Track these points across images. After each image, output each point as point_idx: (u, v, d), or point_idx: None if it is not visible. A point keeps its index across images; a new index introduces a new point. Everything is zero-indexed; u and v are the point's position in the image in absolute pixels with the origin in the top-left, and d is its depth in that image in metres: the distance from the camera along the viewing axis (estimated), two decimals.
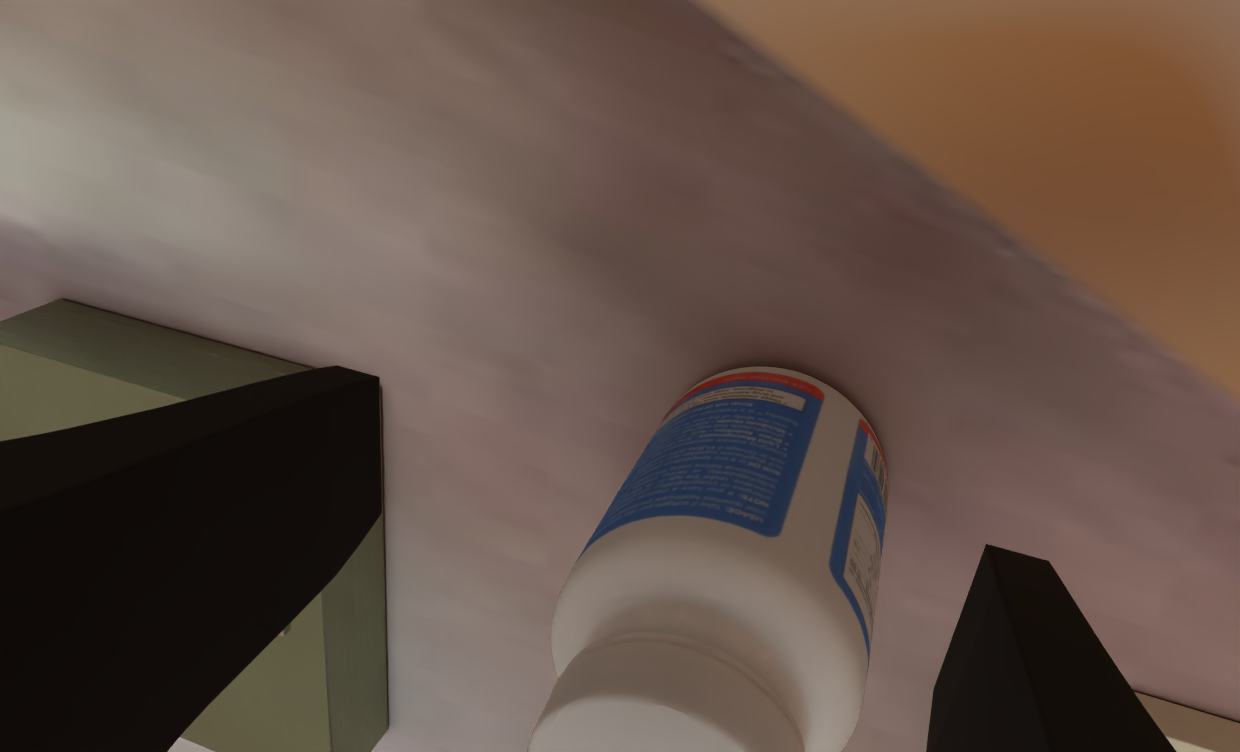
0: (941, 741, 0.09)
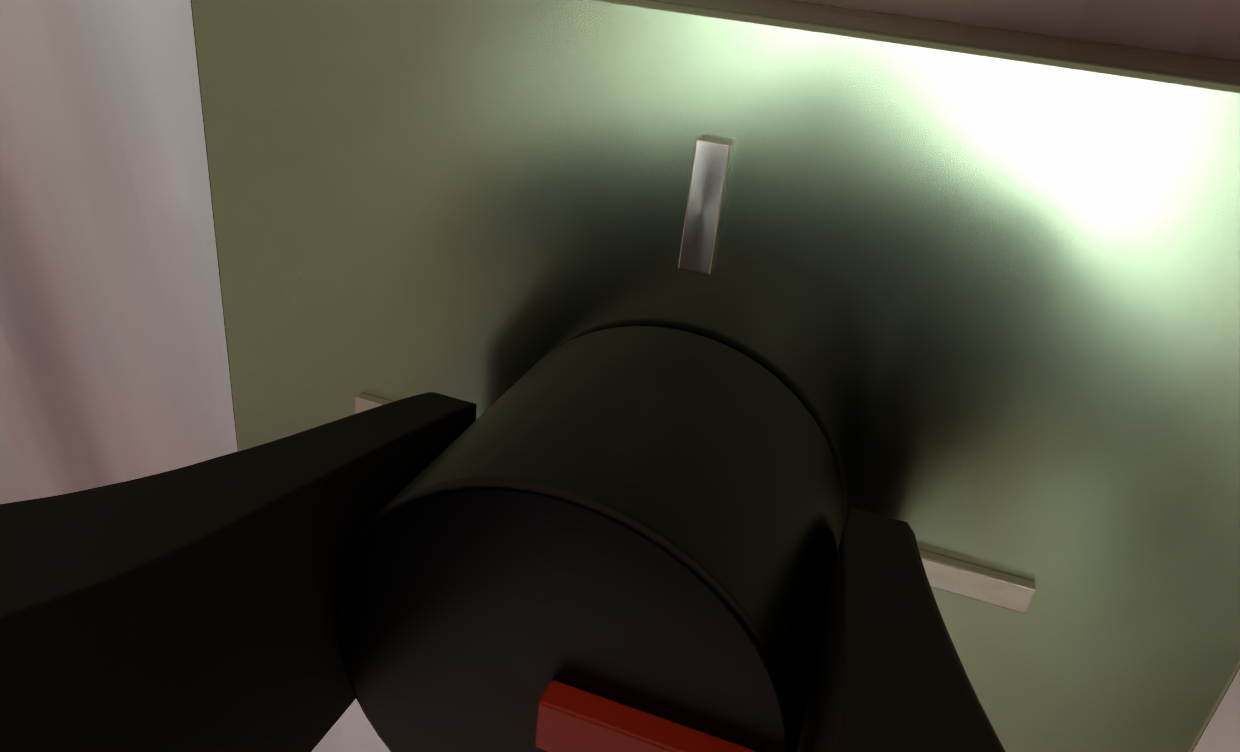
0: None
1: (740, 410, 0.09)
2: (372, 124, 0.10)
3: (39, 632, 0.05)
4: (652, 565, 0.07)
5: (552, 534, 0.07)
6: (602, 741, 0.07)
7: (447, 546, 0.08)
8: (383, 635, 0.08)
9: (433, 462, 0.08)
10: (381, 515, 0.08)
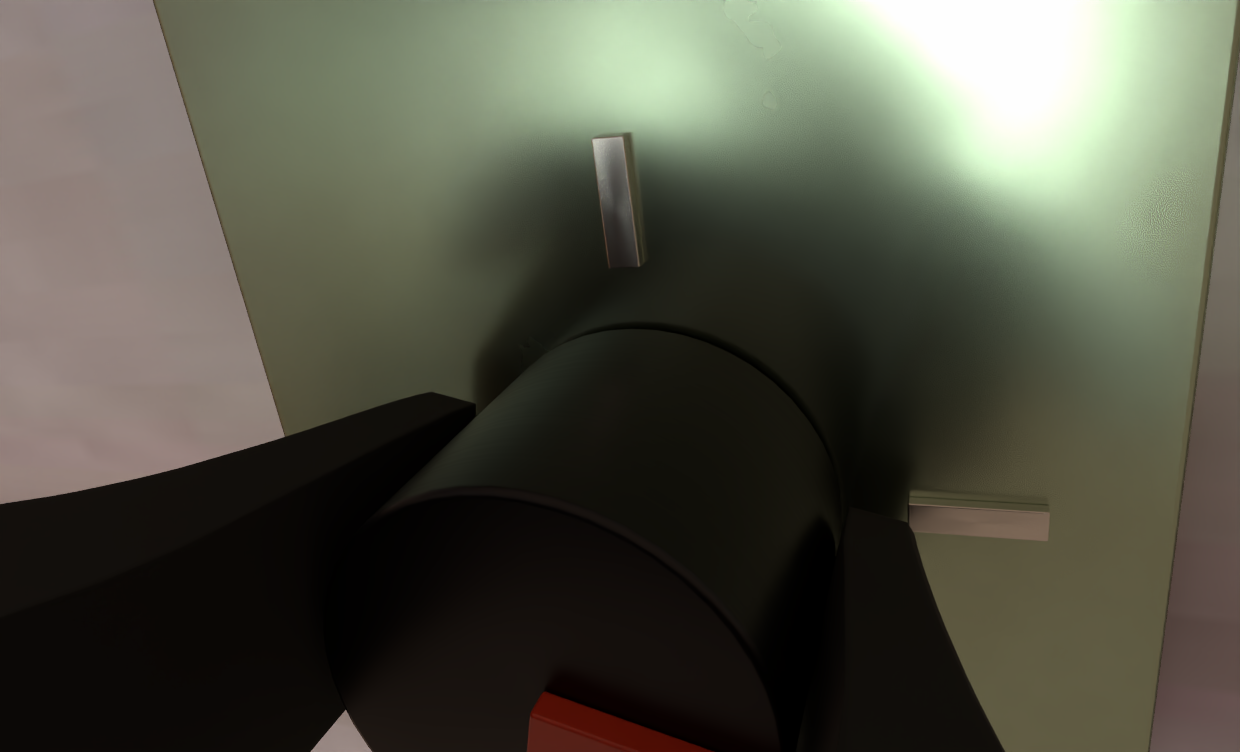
0: None
1: (735, 417, 0.09)
2: (1006, 131, 0.08)
3: (38, 632, 0.05)
4: (645, 578, 0.07)
5: (544, 544, 0.07)
6: None
7: (437, 555, 0.07)
8: (372, 645, 0.08)
9: (423, 468, 0.08)
10: (369, 523, 0.08)
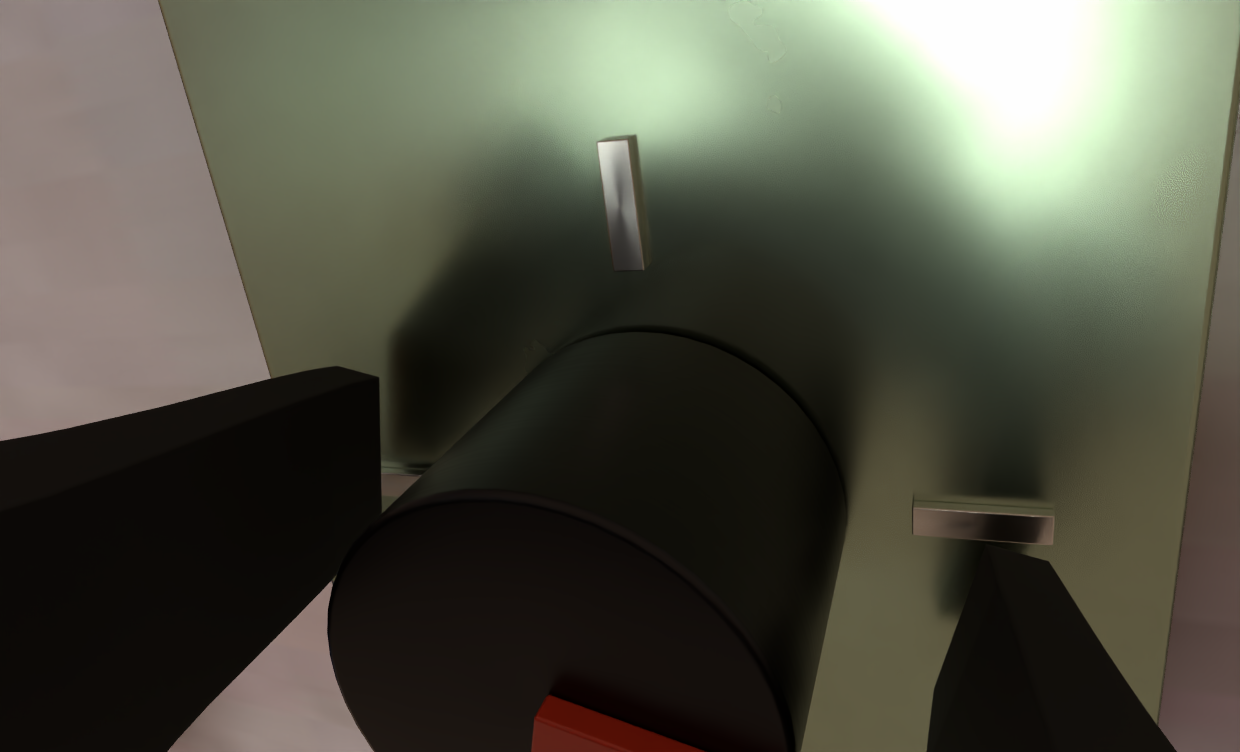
0: (941, 742, 0.09)
1: (741, 420, 0.09)
2: (1011, 134, 0.08)
3: None
4: (650, 581, 0.07)
5: (550, 546, 0.07)
6: None
7: (442, 559, 0.07)
8: (376, 647, 0.08)
9: (429, 471, 0.08)
10: (375, 525, 0.08)
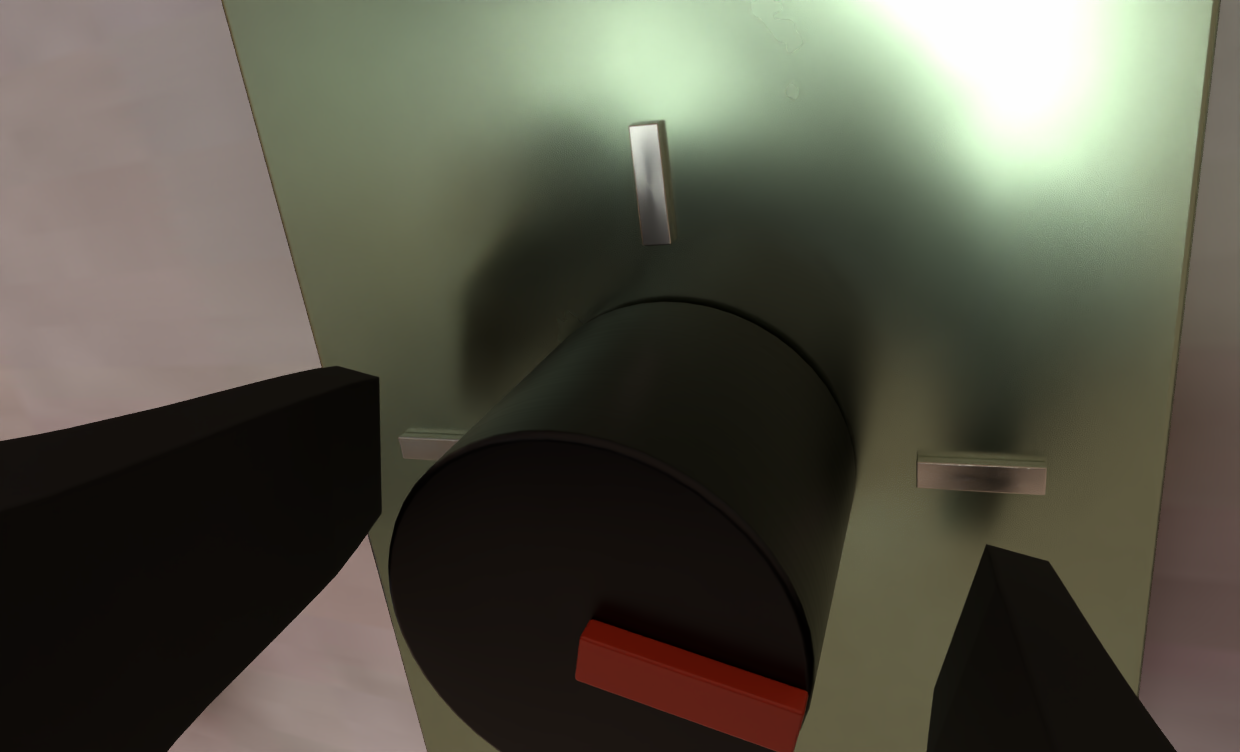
0: (941, 741, 0.09)
1: (761, 377, 0.10)
2: (1007, 118, 0.09)
3: None
4: (686, 510, 0.08)
5: (596, 480, 0.08)
6: (638, 672, 0.08)
7: (496, 495, 0.08)
8: (433, 580, 0.09)
9: (480, 421, 0.09)
10: (436, 466, 0.08)
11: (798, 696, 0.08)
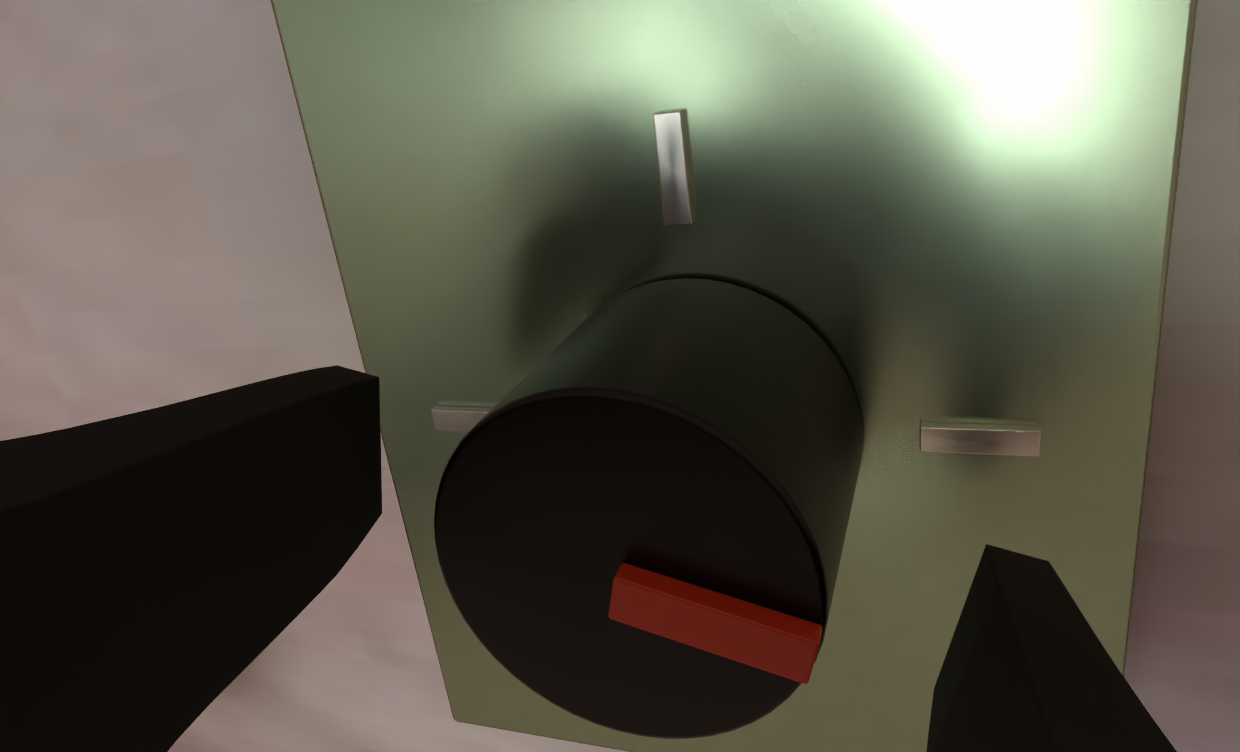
0: (941, 741, 0.09)
1: (777, 345, 0.10)
2: (1003, 105, 0.10)
3: None
4: (713, 459, 0.08)
5: (630, 433, 0.09)
6: (667, 609, 0.09)
7: (538, 448, 0.09)
8: (476, 529, 0.10)
9: (519, 384, 0.10)
10: (482, 423, 0.09)
11: (813, 629, 0.09)
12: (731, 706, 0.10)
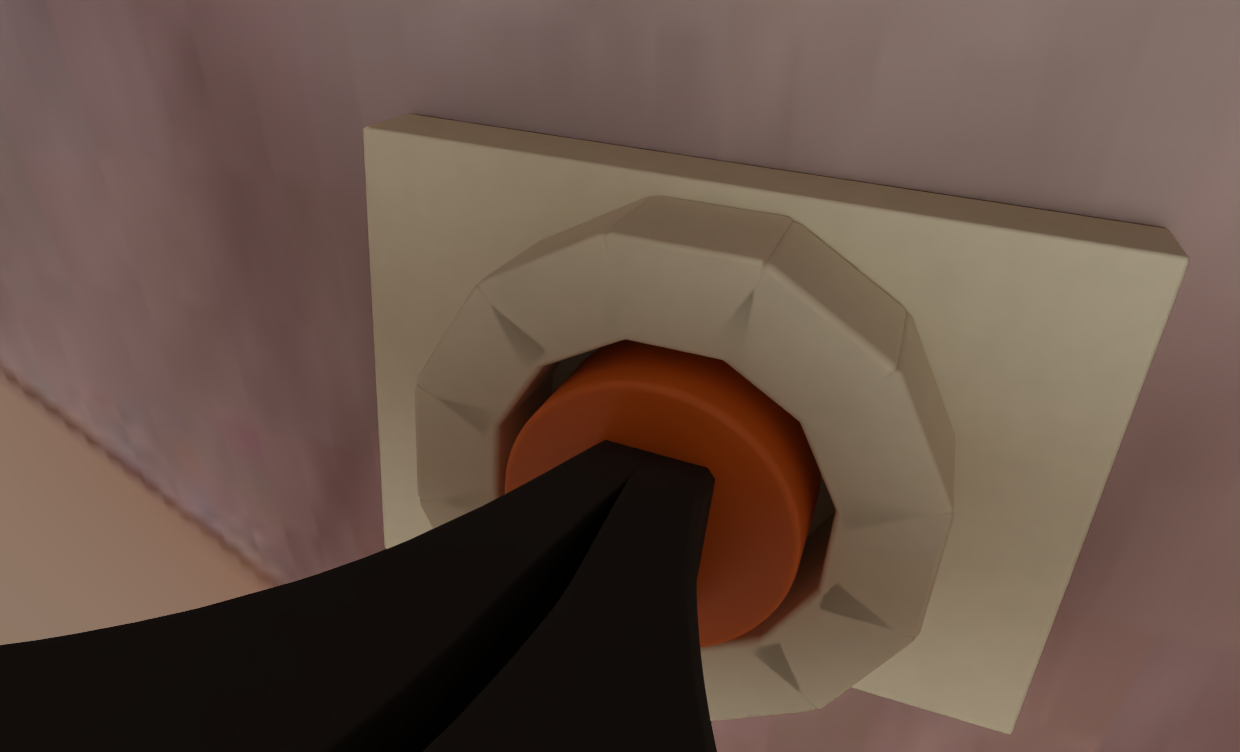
0: None
1: None
2: None
3: None
4: None
5: None
6: None
7: None
8: None
9: None
10: None
11: None
12: None
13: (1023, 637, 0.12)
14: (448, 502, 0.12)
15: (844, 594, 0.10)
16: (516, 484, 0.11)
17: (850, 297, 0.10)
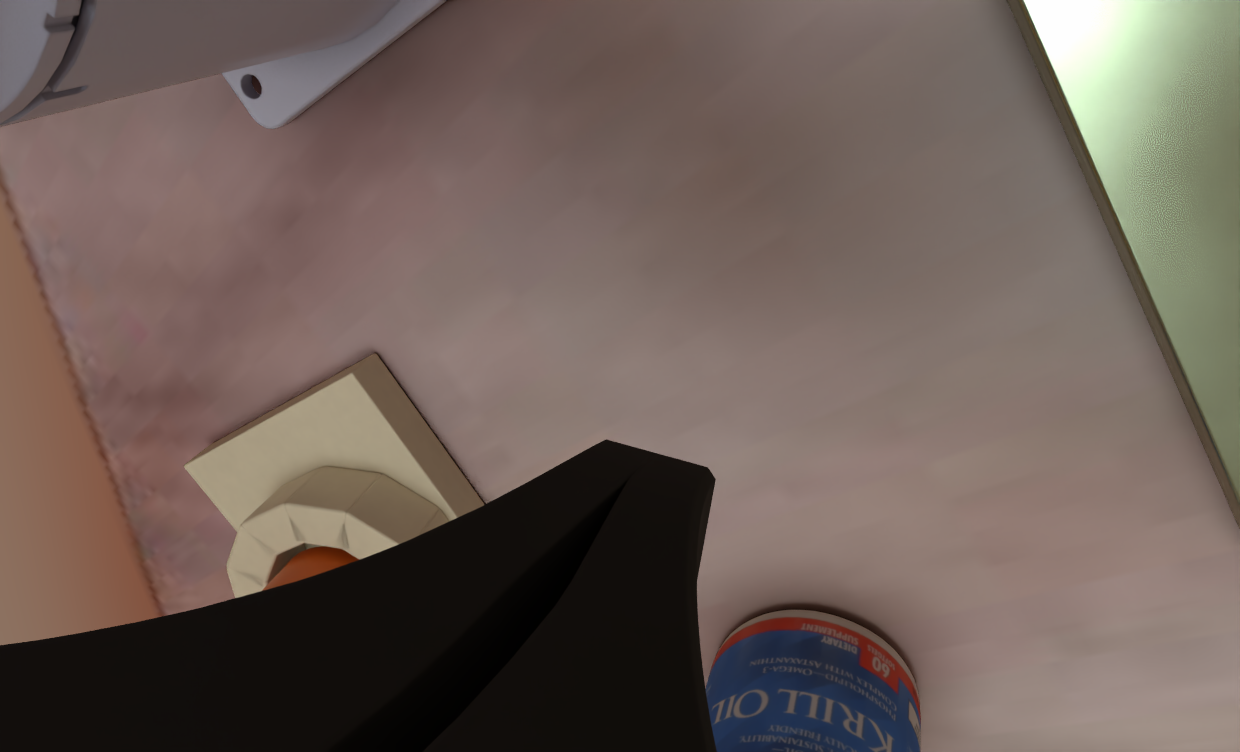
0: None
1: None
2: None
3: None
4: None
5: None
6: None
7: None
8: None
9: None
10: None
11: None
12: None
13: None
14: (254, 538, 0.23)
15: None
16: None
17: None
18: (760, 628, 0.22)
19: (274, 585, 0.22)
